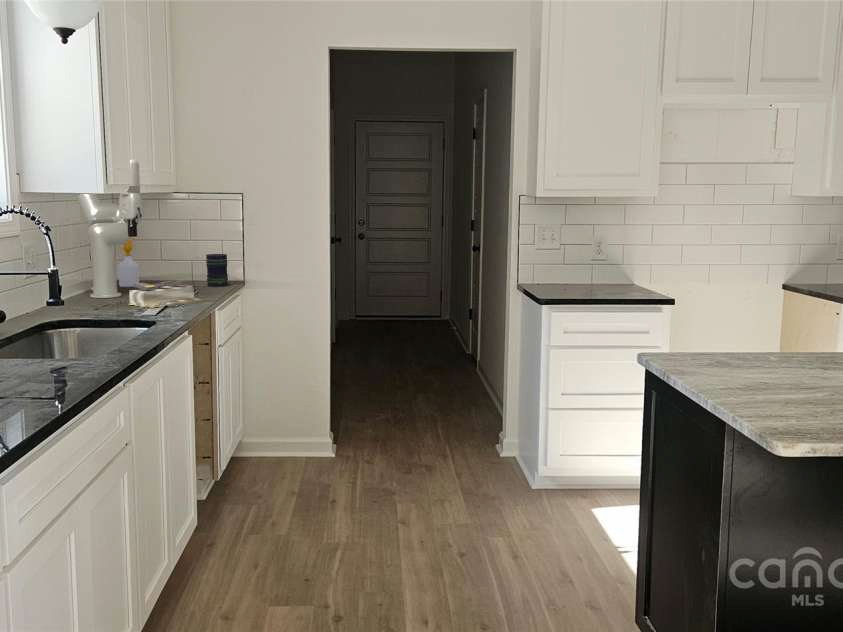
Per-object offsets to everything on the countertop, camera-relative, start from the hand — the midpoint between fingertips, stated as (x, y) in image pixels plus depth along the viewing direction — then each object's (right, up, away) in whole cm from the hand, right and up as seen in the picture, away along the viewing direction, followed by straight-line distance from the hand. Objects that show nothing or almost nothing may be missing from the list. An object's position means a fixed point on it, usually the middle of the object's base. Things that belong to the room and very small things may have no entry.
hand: (132, 236), depth 346 cm
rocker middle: (+11, -19, +2) cm, 23 cm away
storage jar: (+19, -18, +63) cm, 68 cm away
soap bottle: (-23, -18, +63) cm, 69 cm away
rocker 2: (+16, -18, +8) cm, 26 cm away
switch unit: (+13, -27, +2) cm, 30 cm away
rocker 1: (+6, -20, -4) cm, 22 cm away
